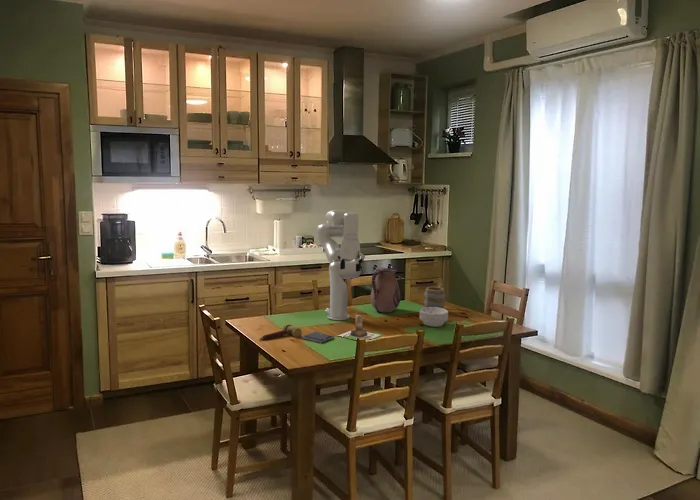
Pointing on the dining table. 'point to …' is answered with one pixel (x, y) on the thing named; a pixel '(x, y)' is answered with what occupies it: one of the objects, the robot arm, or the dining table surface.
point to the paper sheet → (368, 336)
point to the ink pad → (317, 337)
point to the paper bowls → (433, 316)
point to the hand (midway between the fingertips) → (350, 270)
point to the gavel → (283, 332)
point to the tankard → (434, 297)
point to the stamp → (358, 328)
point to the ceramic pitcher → (385, 290)
